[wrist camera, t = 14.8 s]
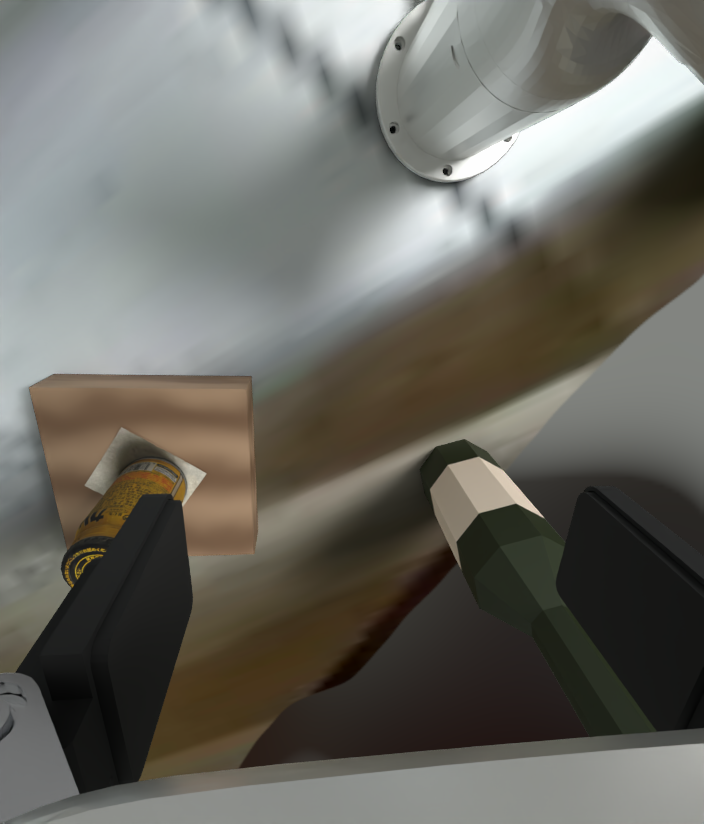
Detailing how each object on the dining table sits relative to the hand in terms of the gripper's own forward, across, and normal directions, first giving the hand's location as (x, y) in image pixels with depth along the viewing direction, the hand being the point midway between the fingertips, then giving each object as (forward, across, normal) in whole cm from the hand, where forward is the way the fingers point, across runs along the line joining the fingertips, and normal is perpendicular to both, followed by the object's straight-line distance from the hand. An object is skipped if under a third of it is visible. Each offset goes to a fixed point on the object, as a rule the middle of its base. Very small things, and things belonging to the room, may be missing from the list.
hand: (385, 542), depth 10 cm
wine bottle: (+34, -15, +17) cm, 40 cm away
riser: (+33, +16, +15) cm, 40 cm away
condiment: (+30, +17, +15) cm, 37 cm away
